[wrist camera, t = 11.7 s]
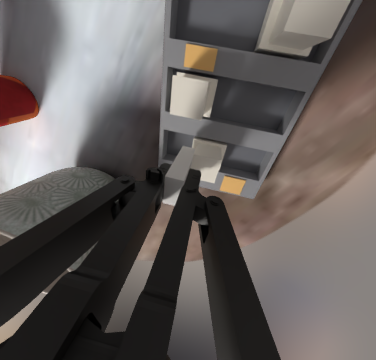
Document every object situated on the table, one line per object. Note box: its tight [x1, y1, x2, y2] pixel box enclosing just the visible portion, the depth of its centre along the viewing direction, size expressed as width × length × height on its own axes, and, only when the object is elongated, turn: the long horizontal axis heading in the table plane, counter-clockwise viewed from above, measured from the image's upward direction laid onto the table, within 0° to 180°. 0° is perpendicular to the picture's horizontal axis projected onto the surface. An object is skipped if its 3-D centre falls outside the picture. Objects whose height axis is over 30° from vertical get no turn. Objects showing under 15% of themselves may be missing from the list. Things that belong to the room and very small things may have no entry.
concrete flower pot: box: [0, 167, 118, 294], centre depth 24 cm, size 17×17×15 cm
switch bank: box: [158, 0, 363, 199], centre depth 16 cm, size 22×14×3 cm, turn 171°
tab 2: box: [191, 136, 227, 183], centre depth 17 cm, size 3×4×6 cm
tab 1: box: [170, 72, 218, 120], centre depth 14 cm, size 3×4×6 cm
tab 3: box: [254, 0, 351, 60], centre depth 10 cm, size 3×4×6 cm
